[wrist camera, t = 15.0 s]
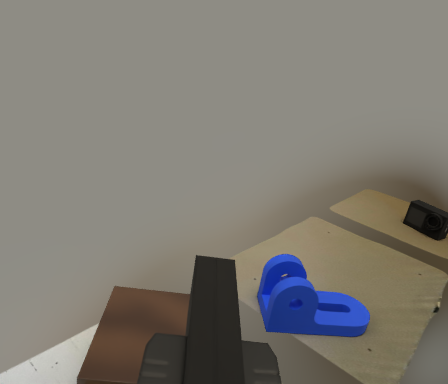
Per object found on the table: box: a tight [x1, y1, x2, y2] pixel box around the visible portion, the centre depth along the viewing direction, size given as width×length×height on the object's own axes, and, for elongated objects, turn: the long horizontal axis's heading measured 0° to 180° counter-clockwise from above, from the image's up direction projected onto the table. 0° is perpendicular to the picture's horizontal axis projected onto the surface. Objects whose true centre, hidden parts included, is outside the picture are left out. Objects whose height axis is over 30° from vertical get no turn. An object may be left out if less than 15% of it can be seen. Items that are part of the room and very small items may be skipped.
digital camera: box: [403, 200, 448, 240], centre depth 100 cm, size 10×5×7 cm, turn 32°
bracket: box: [257, 254, 370, 337], centre depth 59 cm, size 18×8×9 cm, turn 94°
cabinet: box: [77, 286, 190, 384], centre depth 42 cm, size 14×12×10 cm
